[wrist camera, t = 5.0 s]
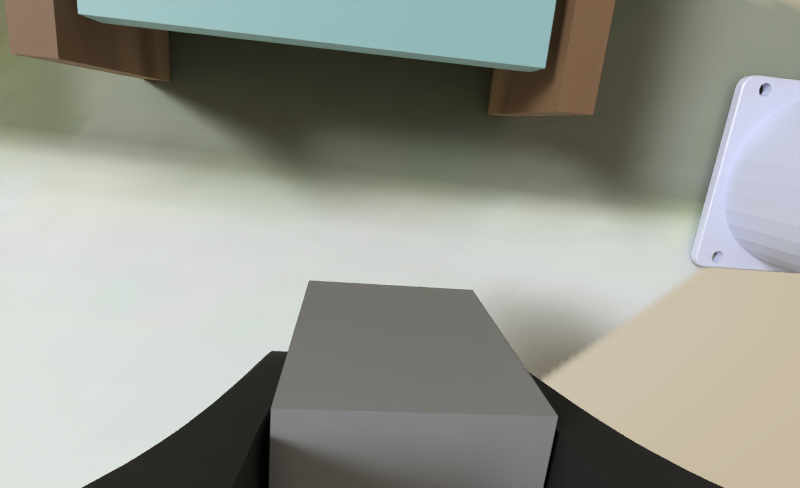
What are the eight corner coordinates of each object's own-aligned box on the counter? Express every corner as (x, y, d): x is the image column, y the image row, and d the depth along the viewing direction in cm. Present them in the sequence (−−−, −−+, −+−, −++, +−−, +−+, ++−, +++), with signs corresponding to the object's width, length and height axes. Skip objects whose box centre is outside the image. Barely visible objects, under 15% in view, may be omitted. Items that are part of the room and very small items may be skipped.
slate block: (472, 289, 11) (558, 415, 6) (452, 428, 12) (513, 626, 7) (308, 280, 11) (270, 408, 6) (302, 425, 12) (264, 634, 7)
